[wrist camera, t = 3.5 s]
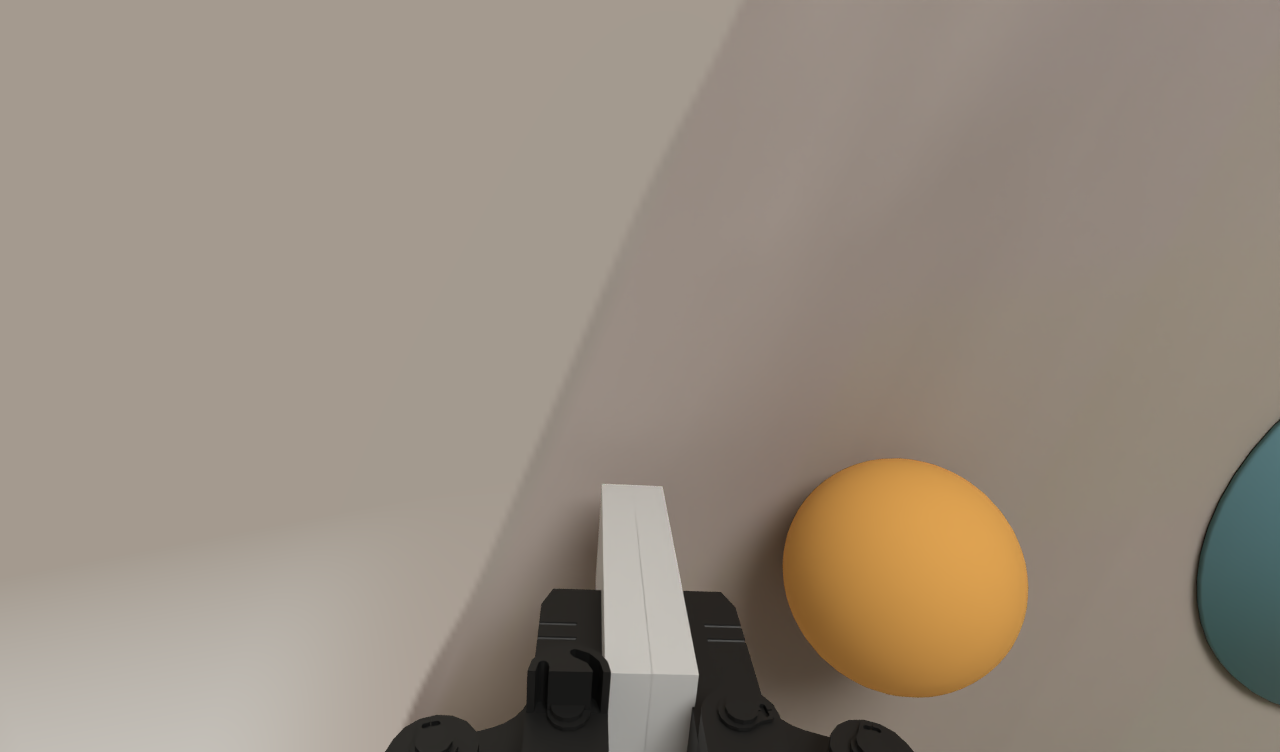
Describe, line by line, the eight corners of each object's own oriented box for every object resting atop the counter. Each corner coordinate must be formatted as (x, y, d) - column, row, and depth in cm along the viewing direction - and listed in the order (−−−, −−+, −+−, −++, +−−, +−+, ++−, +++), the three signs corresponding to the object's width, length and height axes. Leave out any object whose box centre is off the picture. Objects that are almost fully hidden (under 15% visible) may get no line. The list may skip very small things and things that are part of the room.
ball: (973, 428, 19) (1116, 535, 14) (933, 602, 21) (1047, 755, 16) (773, 420, 19) (844, 526, 13) (749, 597, 20) (803, 754, 15)
